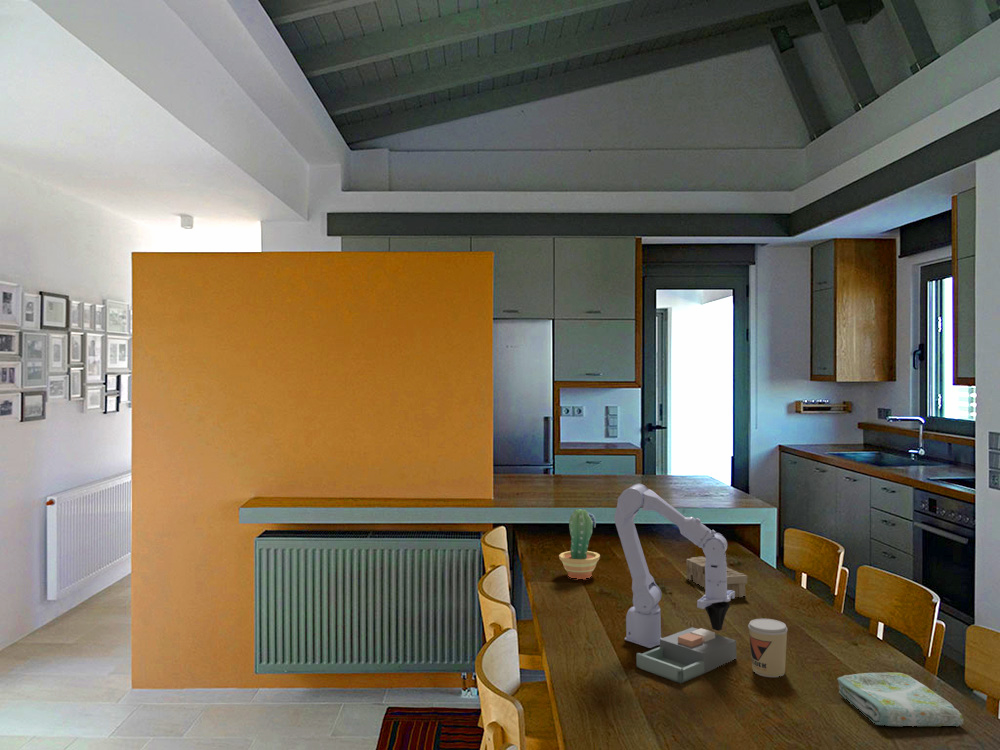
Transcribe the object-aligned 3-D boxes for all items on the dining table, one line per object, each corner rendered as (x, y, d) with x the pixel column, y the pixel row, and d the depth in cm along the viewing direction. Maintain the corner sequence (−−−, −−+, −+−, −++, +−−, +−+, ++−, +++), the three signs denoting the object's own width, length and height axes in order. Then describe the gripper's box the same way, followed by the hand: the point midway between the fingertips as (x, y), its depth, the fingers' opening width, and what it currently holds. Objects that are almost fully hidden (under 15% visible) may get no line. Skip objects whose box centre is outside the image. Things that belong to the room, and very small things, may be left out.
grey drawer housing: (660, 657, 203) (659, 639, 203) (692, 645, 212) (692, 627, 212) (704, 673, 192) (703, 653, 192) (736, 659, 201) (736, 640, 201)
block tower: (684, 581, 280) (727, 601, 252) (683, 558, 280) (726, 575, 252) (704, 579, 282) (748, 598, 254) (703, 556, 282) (747, 573, 254)
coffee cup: (741, 667, 195) (740, 621, 195) (770, 662, 198) (769, 616, 198) (766, 681, 186) (765, 632, 186) (796, 675, 190) (795, 627, 190)
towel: (908, 689, 181) (908, 667, 181) (965, 730, 160) (964, 706, 160) (833, 691, 181) (832, 669, 181) (880, 733, 160) (879, 709, 160)
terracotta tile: (677, 642, 200) (677, 636, 200) (688, 638, 203) (688, 632, 203) (692, 647, 197) (691, 641, 197) (702, 642, 199) (702, 637, 199)
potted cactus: (602, 581, 277) (601, 513, 277) (560, 582, 278) (559, 513, 278) (598, 570, 293) (597, 505, 293) (558, 571, 293) (556, 506, 293)
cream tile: (690, 637, 204) (690, 632, 204) (701, 633, 206) (700, 628, 206) (704, 642, 200) (704, 636, 200) (715, 637, 203) (715, 632, 203)
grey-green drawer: (636, 667, 197) (636, 653, 197) (660, 657, 203) (660, 644, 203) (680, 683, 186) (680, 669, 186) (704, 673, 192) (704, 659, 192)
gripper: (712, 587, 199) (713, 639, 199) (744, 577, 209) (745, 626, 209) (690, 582, 205) (691, 632, 205) (722, 572, 214) (723, 620, 214)
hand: (716, 629), depth 207 cm, fingers closed
